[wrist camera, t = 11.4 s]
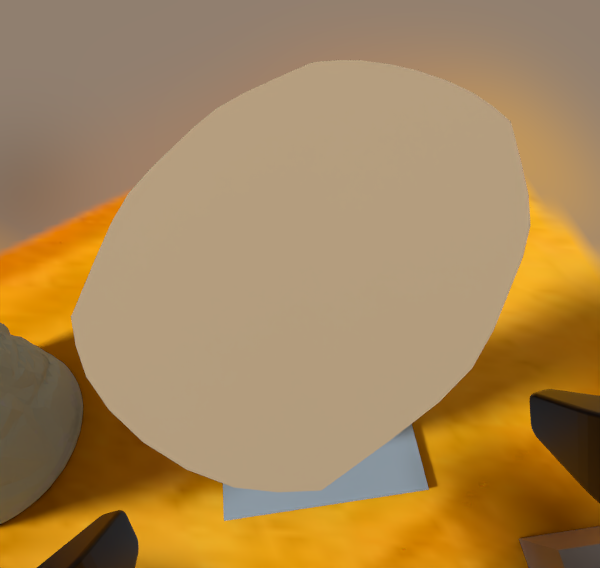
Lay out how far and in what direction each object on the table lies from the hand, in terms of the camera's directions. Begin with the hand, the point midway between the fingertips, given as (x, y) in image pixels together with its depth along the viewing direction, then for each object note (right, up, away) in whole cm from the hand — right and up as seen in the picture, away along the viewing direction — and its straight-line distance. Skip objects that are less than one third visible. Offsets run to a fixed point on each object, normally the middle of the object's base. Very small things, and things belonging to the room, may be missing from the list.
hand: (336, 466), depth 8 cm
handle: (0, -2, +10) cm, 10 cm away
